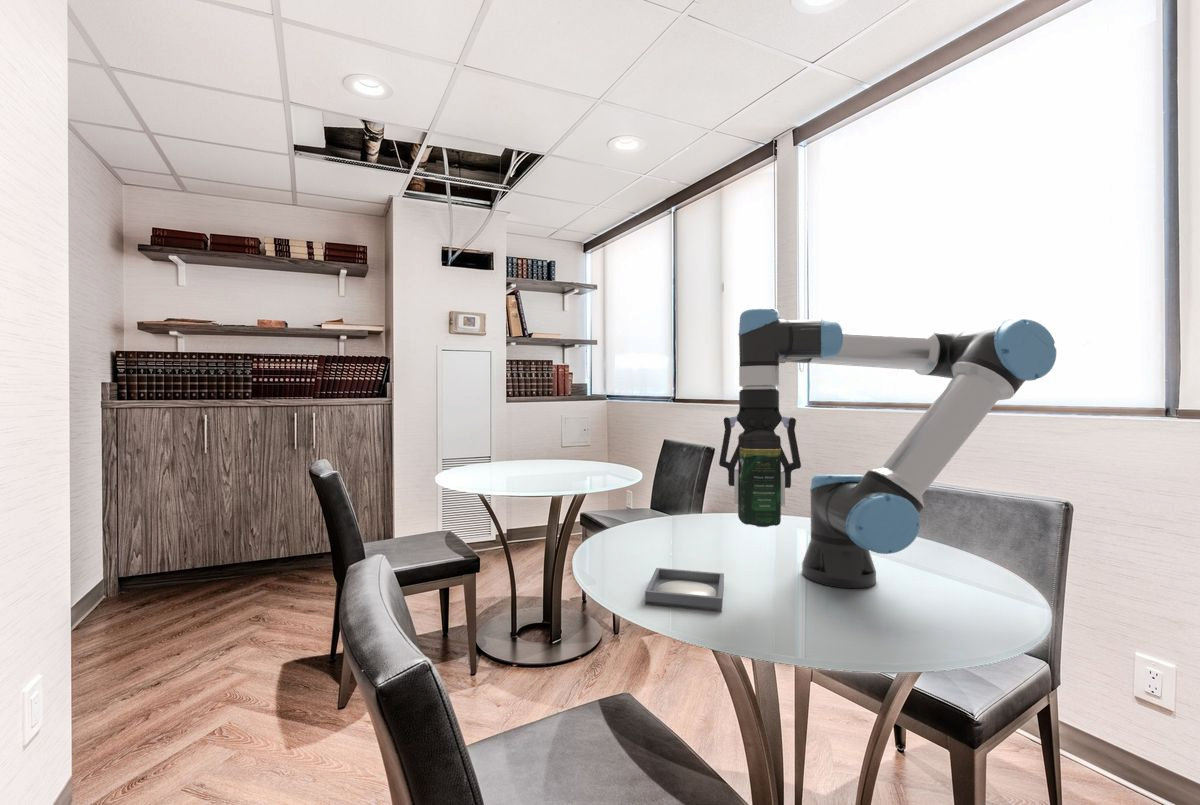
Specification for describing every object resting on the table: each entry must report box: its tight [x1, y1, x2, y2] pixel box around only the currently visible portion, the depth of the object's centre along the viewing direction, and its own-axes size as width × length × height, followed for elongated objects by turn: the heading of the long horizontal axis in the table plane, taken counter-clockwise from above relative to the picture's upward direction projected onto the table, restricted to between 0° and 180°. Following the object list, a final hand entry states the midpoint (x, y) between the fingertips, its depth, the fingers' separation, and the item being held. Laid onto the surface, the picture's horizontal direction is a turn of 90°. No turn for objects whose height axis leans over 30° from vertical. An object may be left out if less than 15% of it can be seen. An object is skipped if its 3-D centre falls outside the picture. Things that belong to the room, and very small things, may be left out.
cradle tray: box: [644, 567, 725, 613], centre depth 109 cm, size 15×15×2 cm
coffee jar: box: [737, 429, 782, 528], centre depth 105 cm, size 10×8×19 cm
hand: (759, 503), depth 105 cm, fingers closed on coffee jar, 8 cm apart
